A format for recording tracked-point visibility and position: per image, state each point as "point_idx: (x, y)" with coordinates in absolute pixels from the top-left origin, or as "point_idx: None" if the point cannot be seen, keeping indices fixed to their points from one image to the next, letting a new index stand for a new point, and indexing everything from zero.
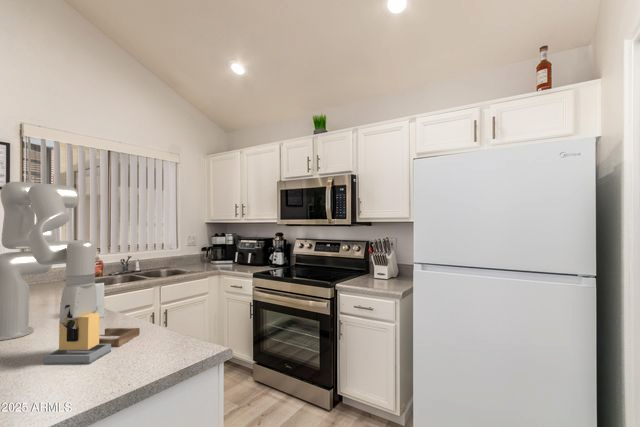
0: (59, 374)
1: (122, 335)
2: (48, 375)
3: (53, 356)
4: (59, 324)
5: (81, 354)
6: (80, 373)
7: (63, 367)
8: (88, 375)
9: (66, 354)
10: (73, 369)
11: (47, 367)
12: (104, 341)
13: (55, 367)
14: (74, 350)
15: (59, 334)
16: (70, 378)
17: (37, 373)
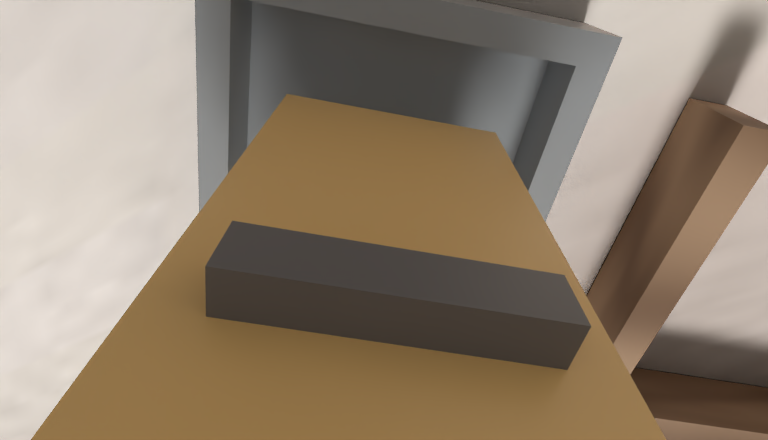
0: (44, 229)
1: (673, 425)
2: (12, 161)
3: (201, 78)
4: (113, 333)
5: None
6: (82, 341)
7: (165, 190)
8: (64, 387)
9: (427, 79)
10: (135, 276)
11: (157, 47)
12: (608, 326)
13: (162, 124)
14: (535, 103)
15: (217, 190)
16: (7, 321)
17: (24, 37)
